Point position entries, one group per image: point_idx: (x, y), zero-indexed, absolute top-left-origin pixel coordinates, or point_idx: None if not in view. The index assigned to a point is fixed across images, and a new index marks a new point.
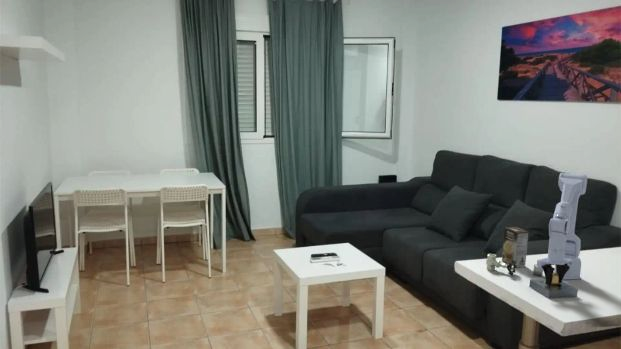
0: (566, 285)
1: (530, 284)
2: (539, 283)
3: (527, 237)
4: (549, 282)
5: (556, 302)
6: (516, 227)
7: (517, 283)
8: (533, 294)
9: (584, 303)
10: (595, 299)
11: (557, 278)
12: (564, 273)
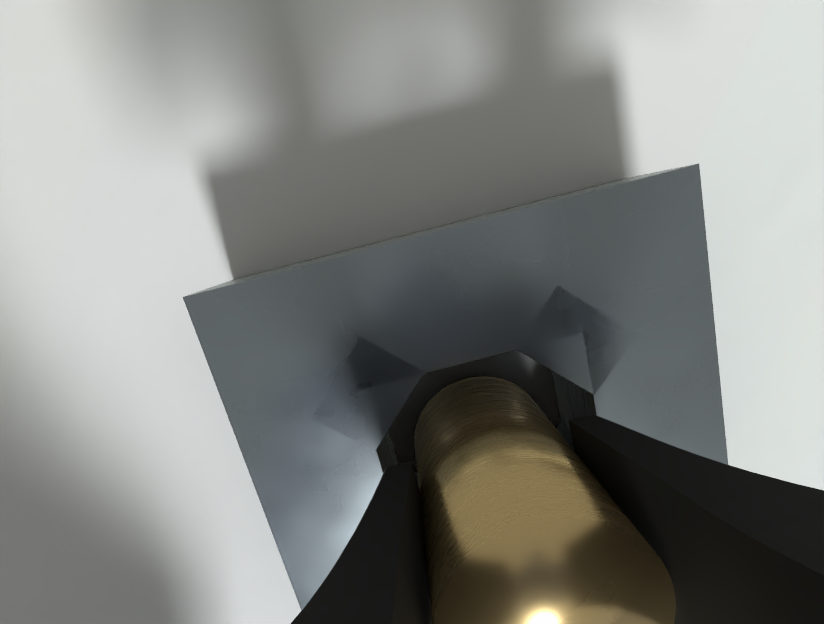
0: (310, 436)
1: None
2: None
3: None
4: (609, 422)
5: (588, 42)
6: None
7: None
8: (745, 290)
9: (216, 48)
10: (14, 219)
11: (496, 480)
12: (336, 605)
